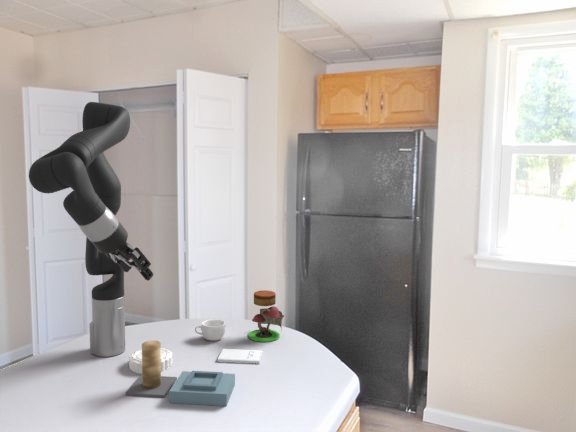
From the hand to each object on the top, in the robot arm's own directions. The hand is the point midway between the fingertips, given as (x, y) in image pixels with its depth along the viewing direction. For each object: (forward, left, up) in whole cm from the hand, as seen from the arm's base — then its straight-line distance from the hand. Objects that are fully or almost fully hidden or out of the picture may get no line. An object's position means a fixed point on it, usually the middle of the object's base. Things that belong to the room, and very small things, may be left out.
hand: (139, 273), depth 116 cm
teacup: (+9, +37, -31) cm, 49 cm away
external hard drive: (+22, +23, -31) cm, 44 cm away
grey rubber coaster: (+2, +2, -30) cm, 30 cm away
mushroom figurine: (+27, +41, -31) cm, 58 cm away
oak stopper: (+2, +2, -30) cm, 30 cm away
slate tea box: (+16, 0, -30) cm, 34 cm away
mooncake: (-3, +15, -31) cm, 34 cm away
